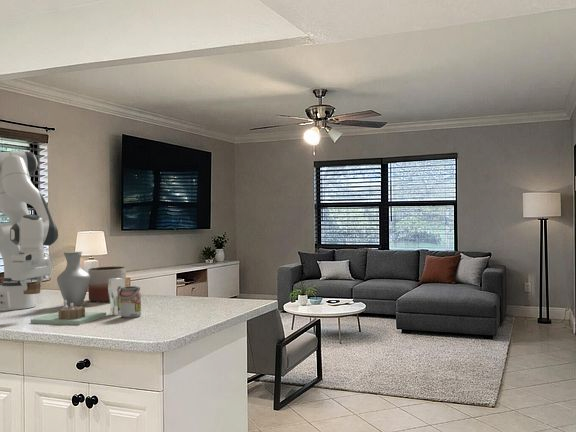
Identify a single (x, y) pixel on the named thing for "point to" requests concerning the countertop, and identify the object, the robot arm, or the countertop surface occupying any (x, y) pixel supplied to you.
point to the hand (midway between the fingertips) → (31, 288)
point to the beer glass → (115, 294)
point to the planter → (103, 281)
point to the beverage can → (130, 301)
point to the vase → (73, 280)
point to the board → (69, 316)
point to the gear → (32, 288)
